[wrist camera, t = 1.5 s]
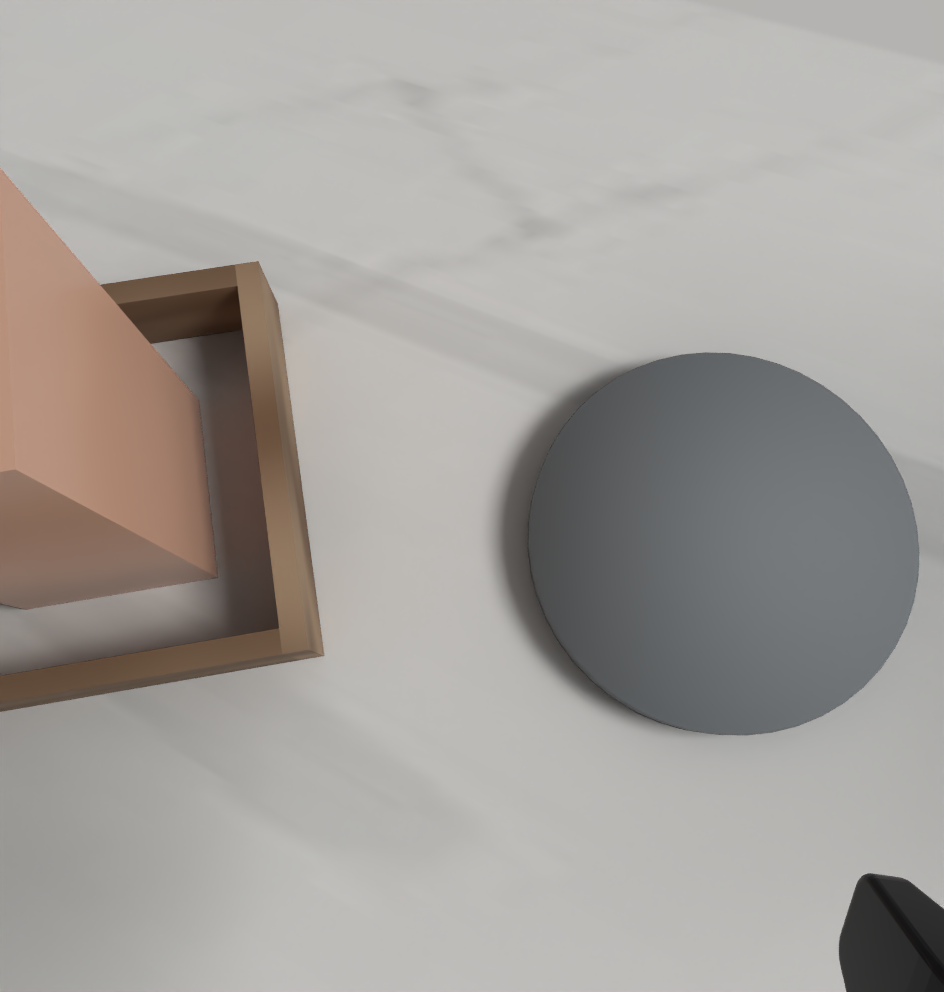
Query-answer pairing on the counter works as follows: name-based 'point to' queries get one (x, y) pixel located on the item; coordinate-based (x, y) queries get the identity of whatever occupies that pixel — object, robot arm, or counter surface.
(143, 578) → the tan rectangular block
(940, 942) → the robot arm
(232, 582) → the counter surface
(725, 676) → the coaster
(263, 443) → the wooden tray
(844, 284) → the counter surface
